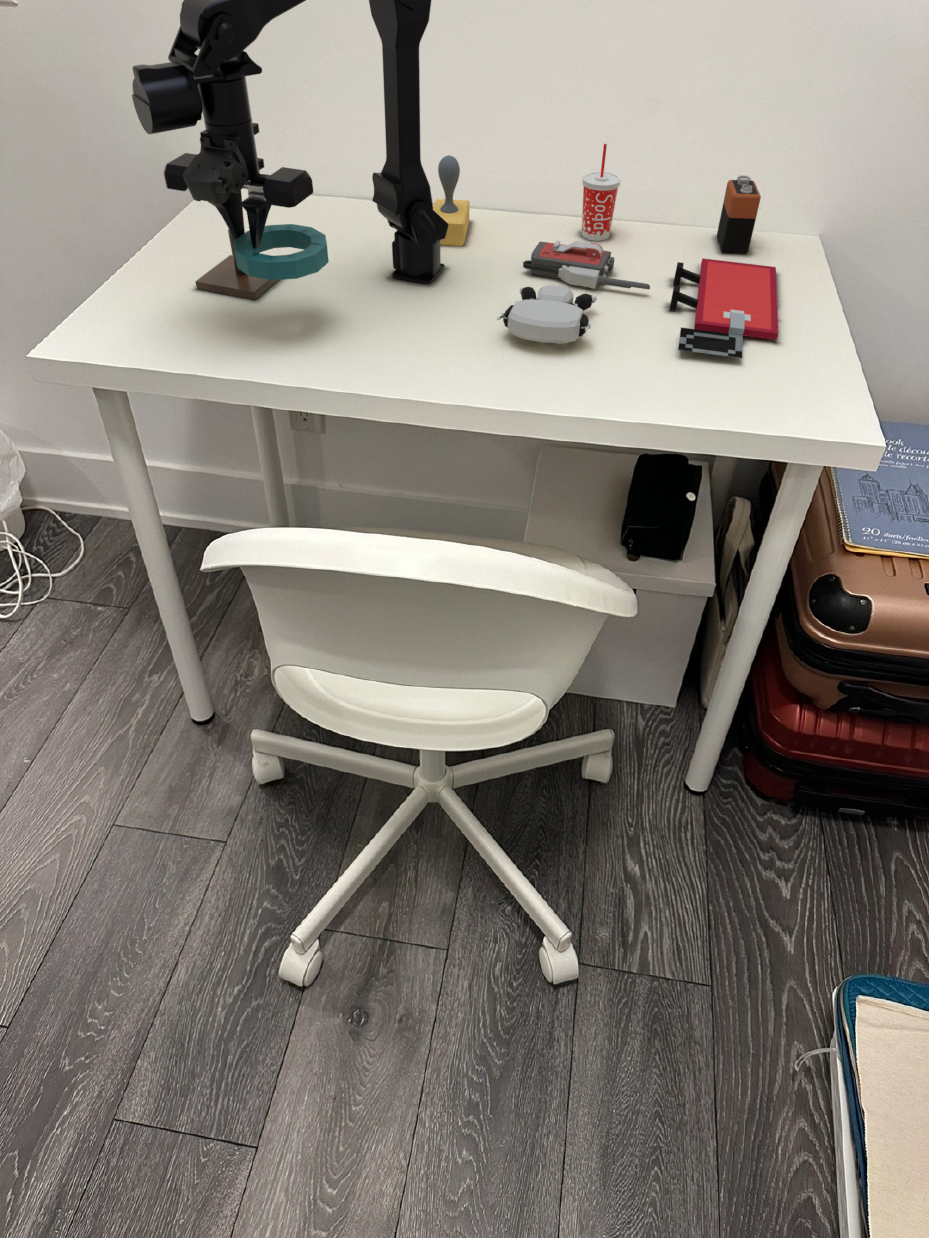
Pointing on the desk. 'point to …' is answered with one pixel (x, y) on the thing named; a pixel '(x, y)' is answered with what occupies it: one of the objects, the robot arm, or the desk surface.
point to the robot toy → (548, 315)
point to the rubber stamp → (452, 203)
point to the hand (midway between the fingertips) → (248, 246)
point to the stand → (233, 279)
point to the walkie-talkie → (576, 264)
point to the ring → (282, 265)
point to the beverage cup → (599, 202)
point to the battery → (738, 215)
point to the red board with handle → (728, 306)
